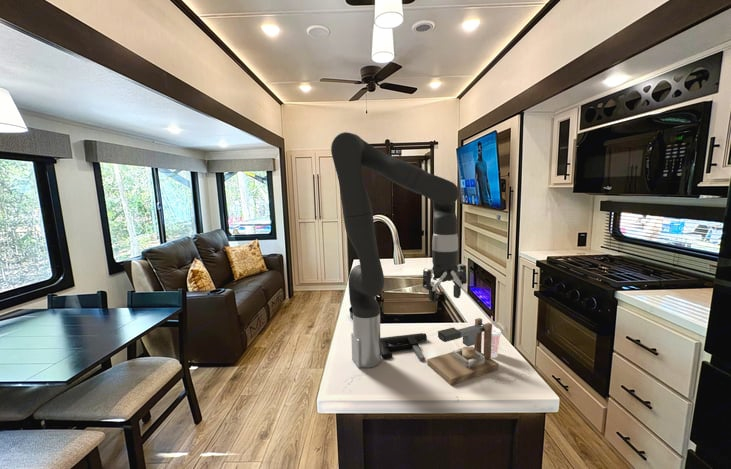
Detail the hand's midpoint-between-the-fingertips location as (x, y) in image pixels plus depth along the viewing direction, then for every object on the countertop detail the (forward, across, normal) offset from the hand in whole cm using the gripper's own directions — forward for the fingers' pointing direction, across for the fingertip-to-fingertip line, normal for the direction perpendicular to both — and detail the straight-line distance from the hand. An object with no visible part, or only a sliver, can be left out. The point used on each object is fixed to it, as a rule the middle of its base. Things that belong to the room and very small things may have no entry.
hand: (444, 299), depth 93 cm
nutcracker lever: (+17, +7, 0) cm, 18 cm away
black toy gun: (+25, -6, +16) cm, 30 cm away
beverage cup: (+25, +21, +3) cm, 32 cm away
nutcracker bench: (+24, +6, 0) cm, 25 cm away
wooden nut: (+22, +9, 0) cm, 24 cm away
